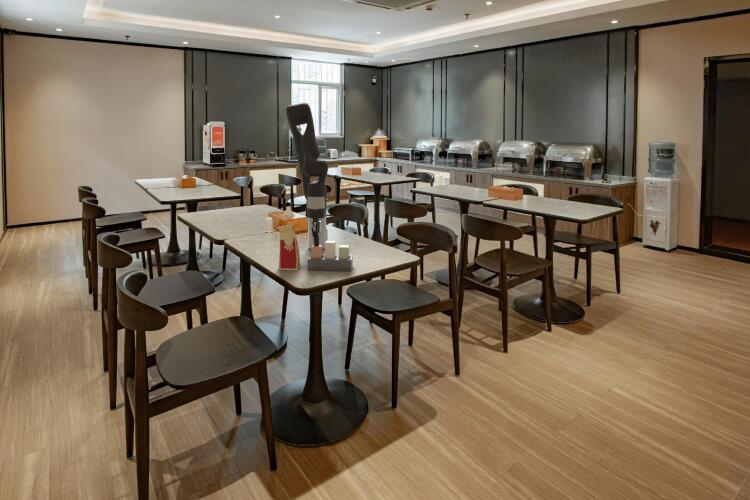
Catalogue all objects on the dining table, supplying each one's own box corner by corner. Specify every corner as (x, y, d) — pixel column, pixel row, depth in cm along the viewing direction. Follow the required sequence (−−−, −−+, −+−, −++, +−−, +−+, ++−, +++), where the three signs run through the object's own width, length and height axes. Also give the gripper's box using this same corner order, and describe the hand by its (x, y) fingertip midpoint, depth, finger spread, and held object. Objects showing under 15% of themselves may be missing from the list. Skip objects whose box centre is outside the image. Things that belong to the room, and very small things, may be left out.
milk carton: (300, 264, 230) (299, 221, 226) (297, 270, 221) (296, 225, 217) (279, 264, 230) (278, 221, 225) (276, 270, 221) (275, 225, 216)
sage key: (338, 263, 223) (338, 247, 221) (339, 261, 227) (339, 245, 225) (348, 263, 223) (348, 247, 221) (349, 261, 227) (349, 245, 225)
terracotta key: (311, 263, 223) (311, 246, 221) (313, 260, 227) (312, 244, 226) (321, 263, 223) (321, 246, 221) (322, 260, 227) (322, 244, 225)
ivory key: (325, 259, 223) (325, 242, 221) (326, 256, 227) (326, 240, 225) (334, 259, 223) (334, 242, 221) (335, 256, 227) (335, 240, 225)
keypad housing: (307, 270, 222) (307, 259, 220) (310, 265, 230) (310, 254, 229) (351, 271, 221) (351, 260, 220) (352, 265, 230) (352, 255, 229)
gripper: (309, 204, 226) (310, 242, 230) (305, 208, 213) (305, 249, 217) (326, 204, 226) (326, 242, 230) (322, 209, 213) (323, 249, 217)
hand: (316, 245), depth 223 cm, fingers closed
